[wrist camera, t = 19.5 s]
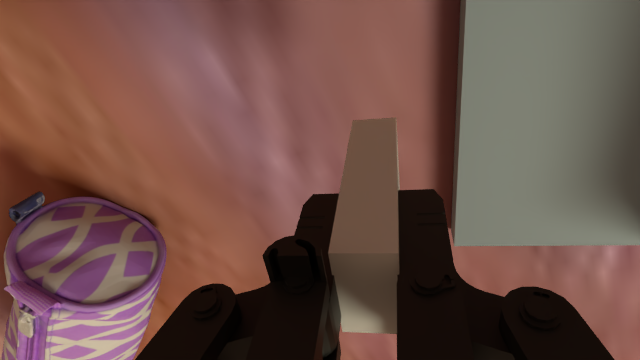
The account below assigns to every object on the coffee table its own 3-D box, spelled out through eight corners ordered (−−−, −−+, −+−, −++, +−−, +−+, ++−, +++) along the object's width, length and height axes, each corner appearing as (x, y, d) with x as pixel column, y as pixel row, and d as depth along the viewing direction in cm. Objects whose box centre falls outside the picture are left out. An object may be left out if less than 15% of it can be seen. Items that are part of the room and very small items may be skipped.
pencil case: (64, 161, 27) (-72, 262, 19) (195, 219, 28) (118, 337, 20) (48, 334, 39) (-39, 439, 31) (139, 369, 40) (78, 480, 32)
